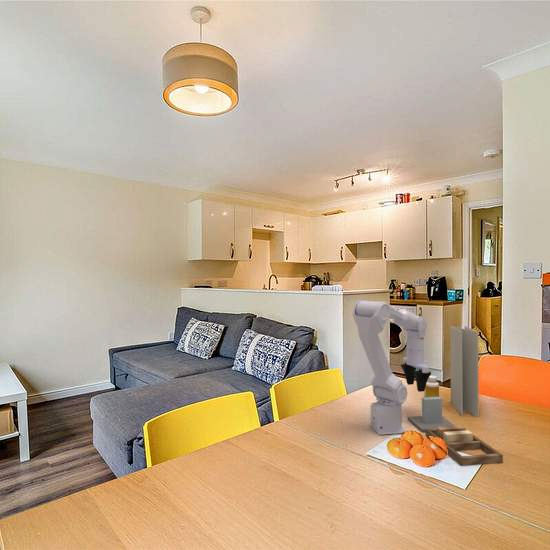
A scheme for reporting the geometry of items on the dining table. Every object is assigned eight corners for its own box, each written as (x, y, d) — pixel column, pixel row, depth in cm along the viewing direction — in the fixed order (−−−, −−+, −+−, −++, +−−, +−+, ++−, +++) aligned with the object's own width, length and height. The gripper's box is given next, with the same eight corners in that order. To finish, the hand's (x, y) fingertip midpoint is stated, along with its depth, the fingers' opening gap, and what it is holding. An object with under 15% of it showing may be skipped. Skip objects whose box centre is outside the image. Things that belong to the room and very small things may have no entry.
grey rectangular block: (425, 423, 121) (424, 399, 121) (422, 421, 123) (421, 397, 123) (442, 422, 121) (441, 398, 121) (438, 420, 123) (438, 396, 123)
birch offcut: (447, 448, 106) (447, 435, 106) (443, 445, 108) (443, 432, 108) (472, 446, 107) (472, 433, 107) (468, 443, 109) (468, 430, 109)
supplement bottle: (441, 403, 141) (441, 378, 141) (427, 403, 141) (427, 378, 141) (435, 398, 147) (435, 374, 147) (422, 398, 147) (422, 374, 147)
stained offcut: (440, 443, 110) (440, 429, 110) (436, 439, 112) (436, 427, 112) (465, 441, 110) (465, 428, 110) (461, 438, 112) (461, 425, 112)
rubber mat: (422, 432, 116) (422, 429, 116) (407, 419, 126) (407, 417, 126) (457, 430, 118) (457, 427, 118) (440, 417, 128) (440, 415, 128)
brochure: (478, 417, 127) (478, 332, 127) (461, 416, 129) (461, 331, 128) (466, 403, 141) (465, 326, 141) (450, 402, 142) (450, 325, 142)
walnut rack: (461, 465, 96) (461, 458, 96) (425, 435, 114) (425, 429, 114) (502, 462, 98) (502, 455, 98) (461, 433, 116) (461, 426, 116)
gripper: (437, 353, 122) (437, 393, 122) (415, 344, 136) (416, 380, 136) (417, 354, 121) (417, 395, 121) (397, 345, 135) (398, 381, 135)
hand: (415, 387), depth 129 cm, fingers open, 7 cm apart
